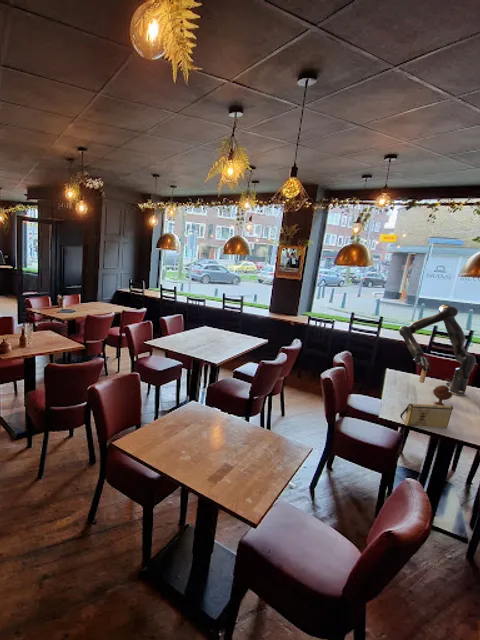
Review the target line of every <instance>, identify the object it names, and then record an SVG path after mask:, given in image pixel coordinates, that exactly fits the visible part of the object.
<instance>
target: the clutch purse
mask: <svg viewBox="0 0 480 640" xmlns="http://www.w3.org/2000/svg"><path fill="white" fill-rule="evenodd" d="M453 410H454V406H453V405H446V404H444V405H436V404H428V403H427V404H426V403H408V405H406V408H405V409H404V410H403V411H402V412H401V413H400V415H399V416H400V419H401V420H402V421H404V426H406V427H426V428H443V429H444V428H445V429H446V428H448V426H449V424H450V419H451V416H452V411H453ZM405 413H406V414H405ZM404 414H405V415H406V416H405V419H404V418H403V415H404Z"/></svg>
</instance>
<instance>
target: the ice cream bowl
mask: <svg viewBox="0 0 480 640" xmlns="http://www.w3.org/2000/svg"><path fill="white" fill-rule="evenodd" d="M449 390H450V387H449V386H448V385H445V384H442V385H438V386H435V387H434V389H432V393H433V395H434V397H436V398H437V399H438V401H435V402H434V405H445V404H444V403H443V401H446V400H450V399H451V398H452V397H453V394H452V393H451V392H450V391H449Z"/></svg>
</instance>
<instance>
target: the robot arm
mask: <svg viewBox="0 0 480 640" xmlns="http://www.w3.org/2000/svg"><path fill="white" fill-rule="evenodd" d="M458 314H459V310H458V308H456V307H455V306H453V305H451V304H445V303H444V304H442V305H440V306H439V308H438V313H437V314H434V315H431V316H427V317H423V318H420V319H418V320H415V321H413V322H412V323H411V324H410V325H409V326H406V325H402V326H400V327H399V330H398V332H399V335H400V336H401V337H402V339H403V340H404V344H405V345H406V347H407V349H408V351H409V352H410V355H411V356H412V358H413V359H412V361H413V362H414V363H415V365H417V366H418V367H421V370H422V369H423V371H427V372H430V371H431V370H432V369H431V367H430V365H431V361H430V359H429V357H425V355H424V354H425V352H424V351H423V349H422V347H421V345H420V344H419V343H418V340H416V338H415V336H414V335H413V334H415V333H417V332H418V331H421V330H423V329H424V328H427V327H430V326H432V325H434V324H437V323H440V322H443V324H444V327H445V329H446V333H447V336H448V339H449V341H450V343H451V347H452V350H453V353H454V358H455V361H456V362H457V363H458V364H460V367H455V369H454V372H453V376H452V379H449V378H445V379H444V380H445V381H448V382H446V386H447V387H448V388H449V391H450V392H451V394H452V395H455V396H459V397H464V396H465V394H466V391H467V387H468V385H469V384H468V383H469V380H470V376H471V373H472V372H473V371H474V368H475V365H476V362H477V359H476V357H475V355H472V354H470V353H468V352H467V351H466V348H465V341H466V335H465V332H464V331H463V328H462V326H461V325H460V324H459V323H458V321H457V319H456V318H455V317H456V316H458ZM424 364H427V365H429V366H428V369H426V367H425V366H424Z"/></svg>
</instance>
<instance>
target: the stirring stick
mask: <svg viewBox="0 0 480 640" xmlns="http://www.w3.org/2000/svg"><path fill="white" fill-rule="evenodd" d="M424 366H425V367H426V369H428V366H429V367H430V365H427V364H426V363H425V364H424ZM427 373H428V371H423V369H422V368H421V372H420V375H419V380H418V382H419V383H421V384H424V383H425V380H426V376H427Z"/></svg>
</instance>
